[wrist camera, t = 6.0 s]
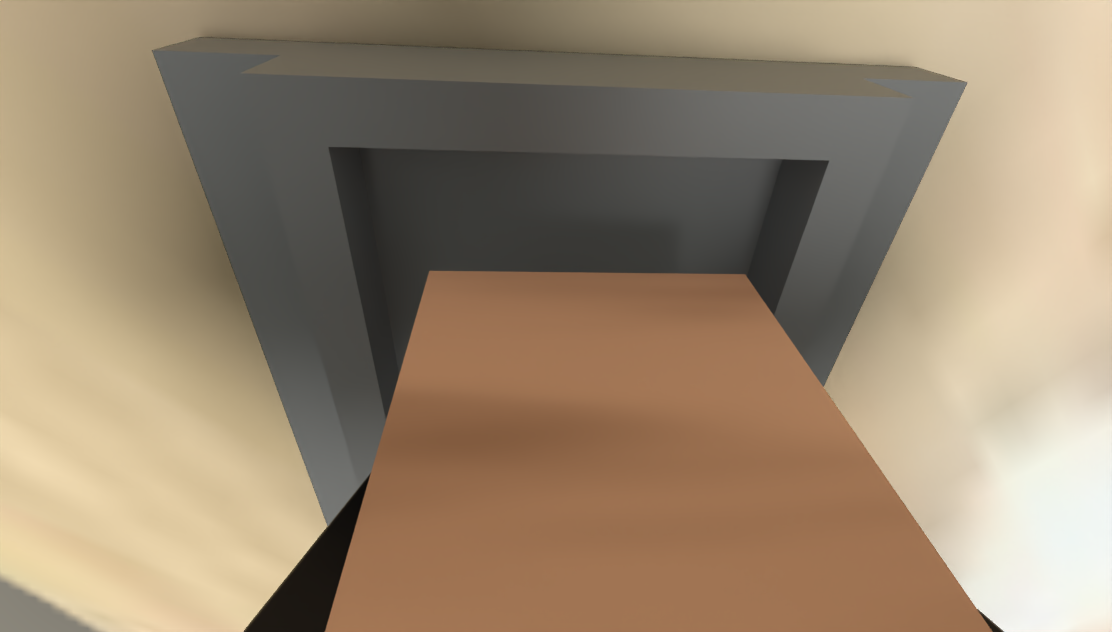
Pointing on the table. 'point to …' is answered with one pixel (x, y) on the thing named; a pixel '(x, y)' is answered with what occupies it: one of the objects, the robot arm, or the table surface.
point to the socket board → (530, 192)
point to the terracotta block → (626, 473)
